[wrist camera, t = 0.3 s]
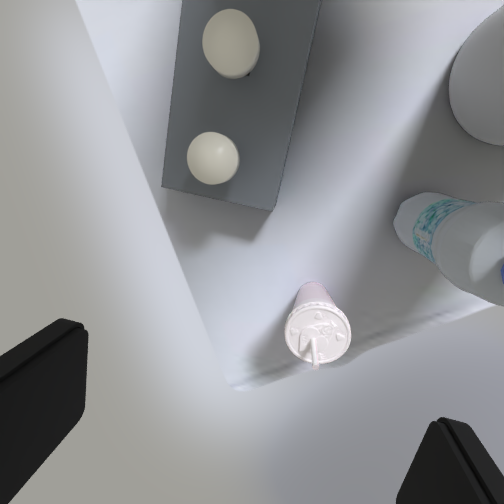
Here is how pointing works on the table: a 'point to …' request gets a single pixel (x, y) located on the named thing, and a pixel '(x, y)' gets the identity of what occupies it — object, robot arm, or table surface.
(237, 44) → the knob middle
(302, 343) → the smoothie
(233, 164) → the knob
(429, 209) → the bottle
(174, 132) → the control panel
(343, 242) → the table surface
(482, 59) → the cylinder vase
